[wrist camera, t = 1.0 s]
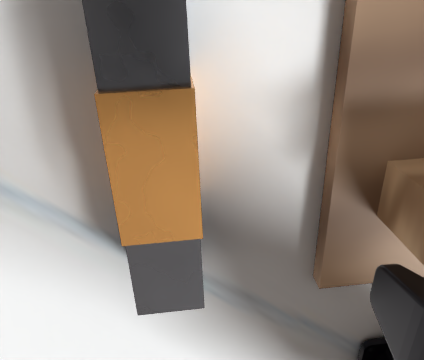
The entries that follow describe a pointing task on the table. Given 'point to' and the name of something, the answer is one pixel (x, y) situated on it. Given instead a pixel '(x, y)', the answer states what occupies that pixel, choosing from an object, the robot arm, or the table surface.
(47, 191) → the table surface
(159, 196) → the spanner bar
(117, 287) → the table surface
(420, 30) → the tool rack
